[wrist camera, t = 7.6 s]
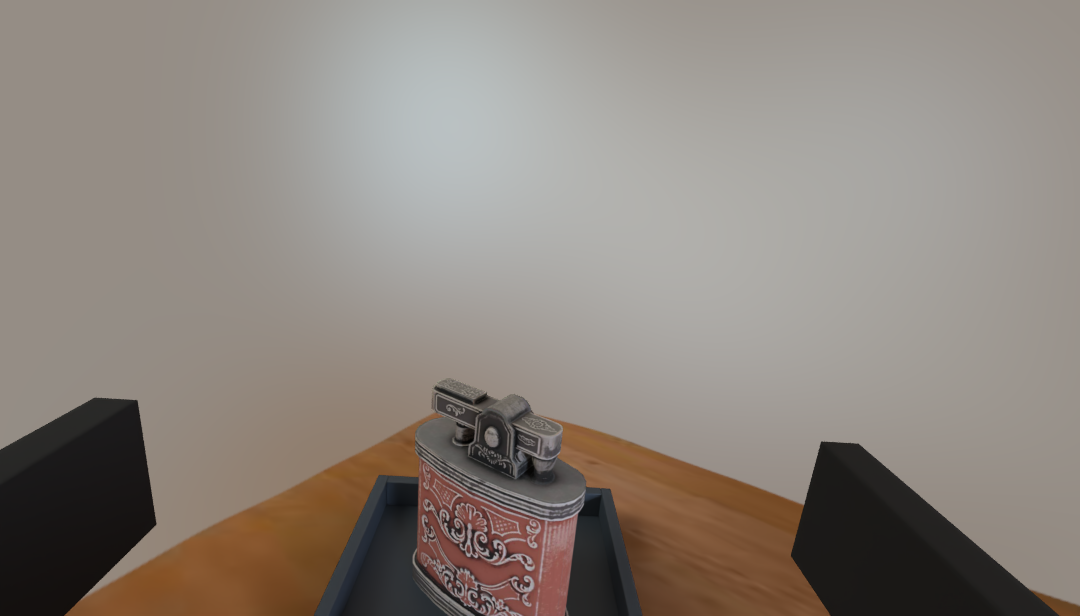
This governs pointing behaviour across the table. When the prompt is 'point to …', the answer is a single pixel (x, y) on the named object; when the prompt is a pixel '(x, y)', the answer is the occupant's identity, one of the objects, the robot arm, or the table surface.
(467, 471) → the lighter
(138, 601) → the table surface
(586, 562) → the tray
